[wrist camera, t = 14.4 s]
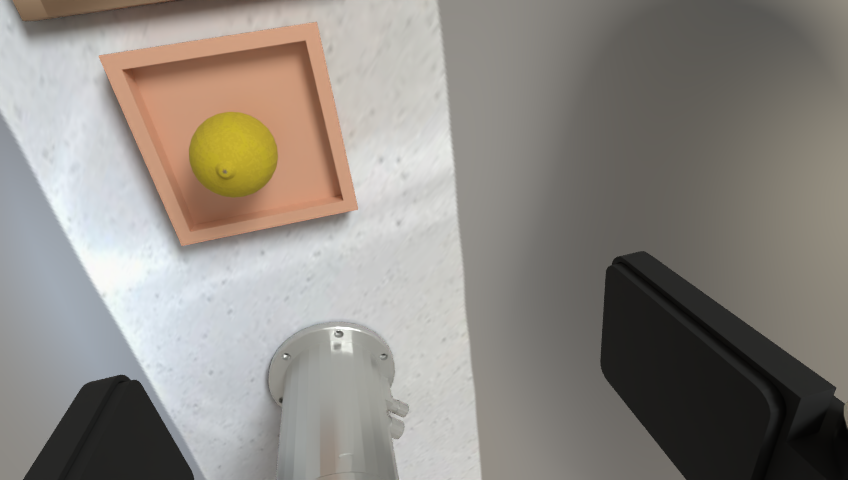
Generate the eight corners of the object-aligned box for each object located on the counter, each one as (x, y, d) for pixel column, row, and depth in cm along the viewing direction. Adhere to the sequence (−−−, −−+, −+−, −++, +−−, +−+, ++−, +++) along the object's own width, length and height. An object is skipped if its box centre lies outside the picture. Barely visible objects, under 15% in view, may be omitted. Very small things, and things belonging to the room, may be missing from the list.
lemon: (296, 150, 36) (291, 184, 29) (238, 188, 36) (218, 229, 29) (249, 87, 33) (230, 107, 26) (187, 129, 33) (152, 159, 26)
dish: (356, 198, 39) (358, 209, 37) (189, 232, 38) (181, 245, 35) (316, 21, 33) (316, 22, 31) (113, 53, 31) (98, 55, 29)
